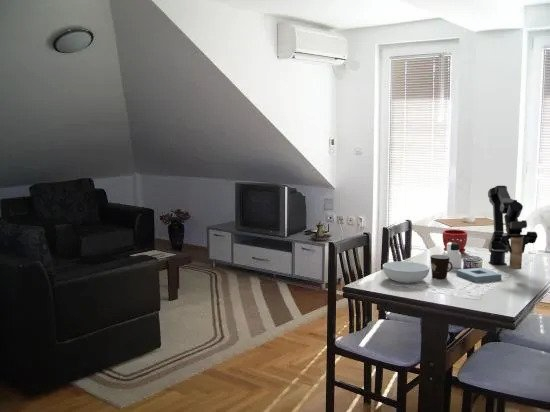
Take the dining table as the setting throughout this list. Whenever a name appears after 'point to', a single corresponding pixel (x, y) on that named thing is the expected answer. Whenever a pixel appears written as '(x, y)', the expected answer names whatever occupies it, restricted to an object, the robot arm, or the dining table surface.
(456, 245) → the medicine bottle
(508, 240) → the robot arm
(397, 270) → the serving bowl
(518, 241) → the walnut peg
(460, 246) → the plant pot
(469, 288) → the dining table surface
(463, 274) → the slate holder block
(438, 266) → the coffee mug
